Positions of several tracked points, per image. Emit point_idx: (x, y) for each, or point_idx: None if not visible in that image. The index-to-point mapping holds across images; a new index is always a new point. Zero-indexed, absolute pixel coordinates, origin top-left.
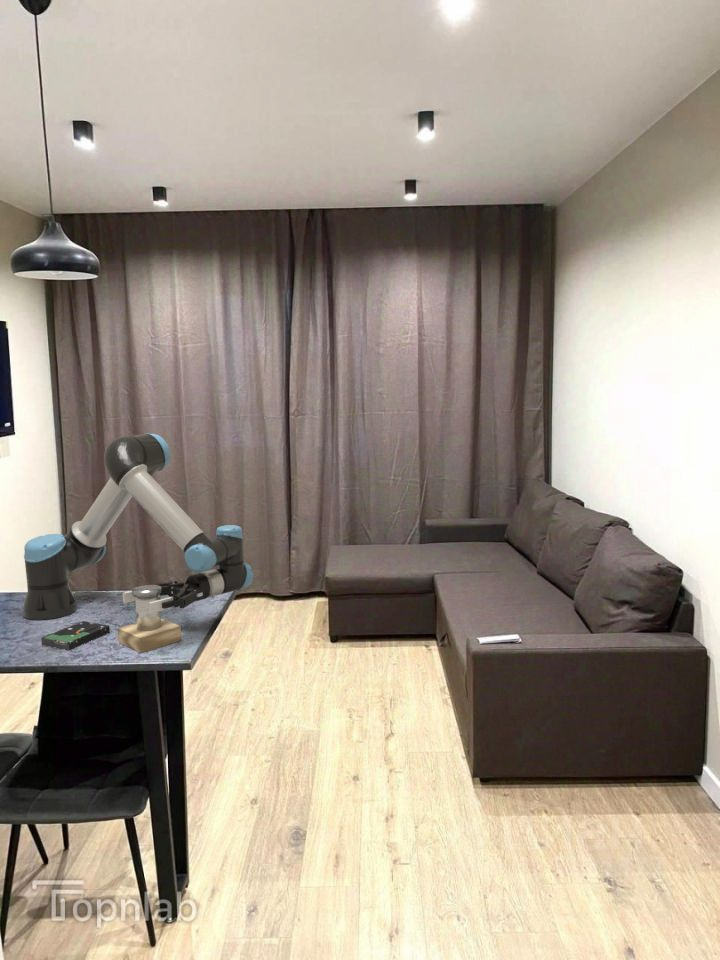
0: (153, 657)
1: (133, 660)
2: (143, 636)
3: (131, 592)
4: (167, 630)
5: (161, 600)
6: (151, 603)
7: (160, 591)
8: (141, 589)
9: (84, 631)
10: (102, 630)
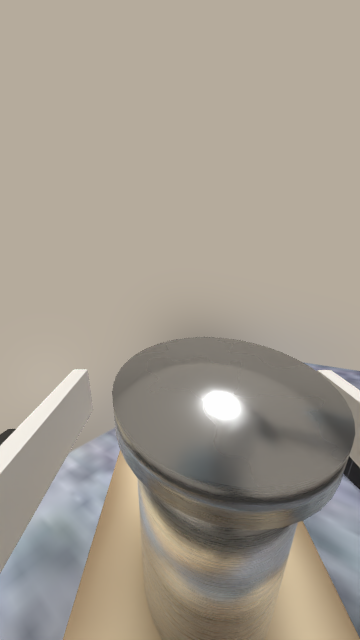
0: (60, 492)
1: (104, 445)
2: (122, 463)
3: (349, 399)
4: (69, 621)
5: (30, 414)
6: (70, 375)
7: (124, 446)
8: (226, 359)
9: None
10: (352, 465)
